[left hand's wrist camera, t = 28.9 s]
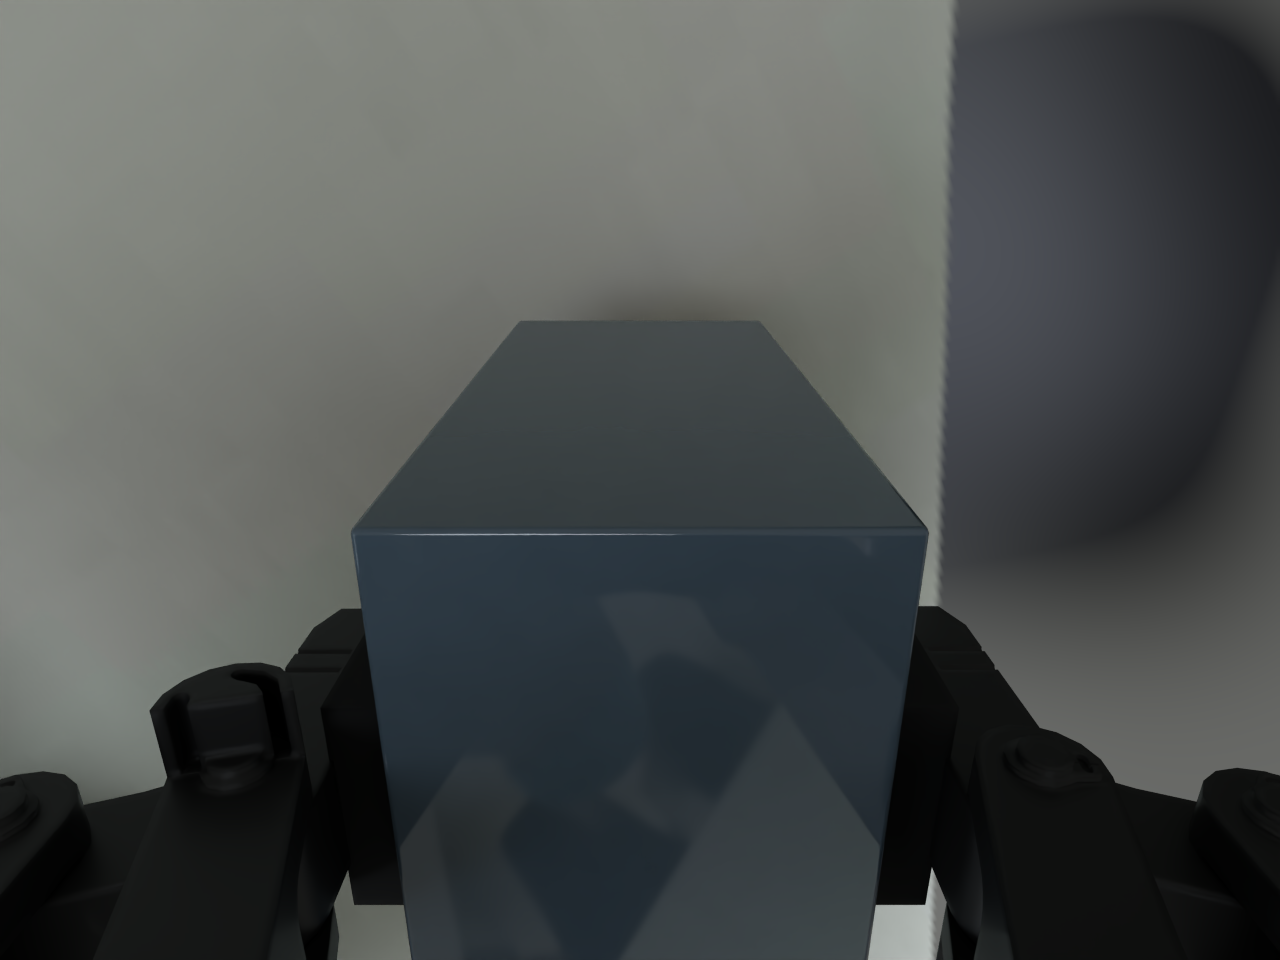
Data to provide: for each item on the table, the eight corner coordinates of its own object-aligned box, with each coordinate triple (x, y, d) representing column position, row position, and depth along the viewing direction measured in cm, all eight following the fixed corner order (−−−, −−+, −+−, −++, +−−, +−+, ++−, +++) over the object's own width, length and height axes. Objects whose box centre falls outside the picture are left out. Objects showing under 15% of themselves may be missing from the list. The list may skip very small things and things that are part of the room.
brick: (761, 320, 17) (932, 529, 7) (744, 615, 19) (854, 1072, 9) (518, 320, 17) (347, 530, 7) (534, 615, 19) (425, 1073, 9)
